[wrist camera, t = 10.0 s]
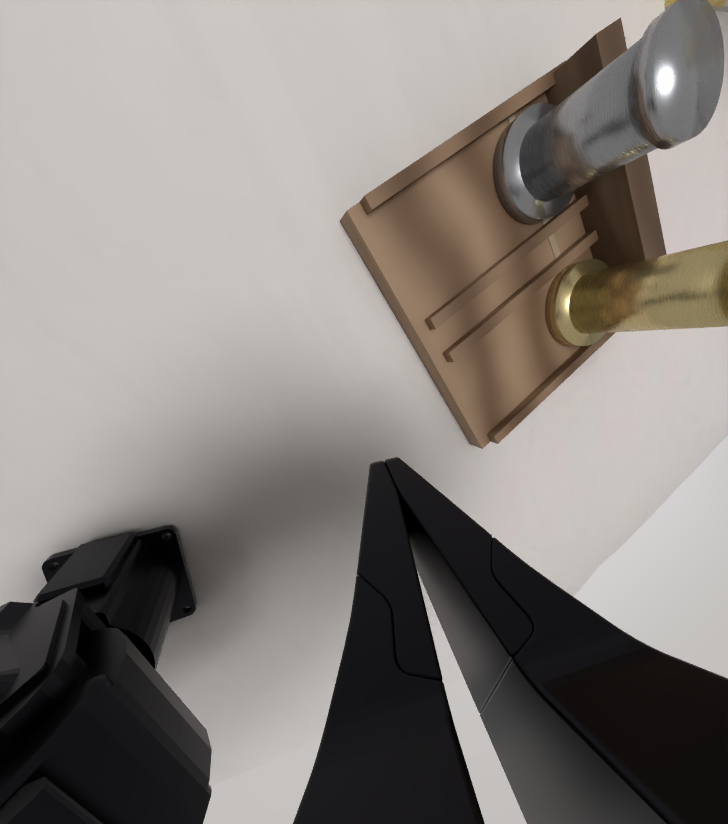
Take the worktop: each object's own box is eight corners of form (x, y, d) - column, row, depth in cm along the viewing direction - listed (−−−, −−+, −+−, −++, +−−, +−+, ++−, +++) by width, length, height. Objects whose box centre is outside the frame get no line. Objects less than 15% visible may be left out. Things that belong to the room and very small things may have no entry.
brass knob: (561, 361, 26) (749, 367, 17) (535, 292, 24) (737, 250, 14) (609, 317, 28) (812, 297, 18) (589, 246, 25) (811, 178, 15)
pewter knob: (516, 242, 22) (661, 183, 15) (478, 144, 20) (629, 8, 12) (574, 195, 24) (737, 117, 16) (546, 97, 21) (723, -54, 13)
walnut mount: (470, 443, 27) (516, 462, 22) (339, 220, 19) (368, 179, 15) (610, 313, 30) (676, 306, 25) (544, 81, 23) (619, 13, 18)
